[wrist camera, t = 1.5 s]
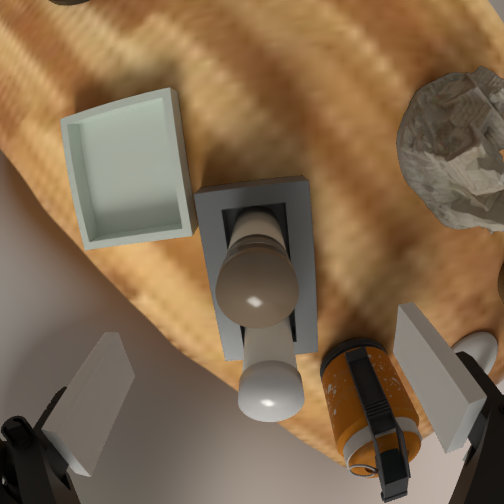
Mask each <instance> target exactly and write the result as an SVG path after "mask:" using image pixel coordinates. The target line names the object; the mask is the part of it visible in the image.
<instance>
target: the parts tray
mask: <svg viewBox="0 0 504 504" xmlns="http://www.w3.org/2000/svg"><path fill="white" fill-rule="evenodd" d="M60 122H61V131H62V139H63V146H64V153H65V159H66V165H67V171H68V177H69V182H70V187H71V193H72V197H73V202H74V207H75V211H76V216H77V220H78V224H79V229H80V233H81V237H82V240H83V244H84V248H85V250H90V249H97V248H104V247H111V246H119V245H126V244H133V243H141V242H148V241H156V240H163V239H171V238H179V237H187V236H193V234H194V233H195V231H196V229H197V228H198V225H197V219H196V213H195V207H194V201H193V195H192V189H191V183H190V176H189V170H188V163H187V156H186V150H185V143H184V135H183V128H182V121H181V113H180V106H179V98H178V92H177V91H176V90H174V89H172V88H170V87H169V88H164V89H160V90H155V91H151V92H147V93H143V94H139V95H135V96H132V97H128V98H124V99H121V100H117V101H114V102H110V103H107V104H104V105H101V106H97V107H94V108H91V109H88V110H85V111H82V112H79V113H76V114H73V115H71V116H68V117H65V118H62V119H60Z"/></svg>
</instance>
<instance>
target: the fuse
mask: <svg viewBox="0 0 504 504" xmlns="http://www.w3.org/2000/svg"><path fill="white" fill-rule="evenodd" d="M304 399H305V398H304V391H303V385H302V379H301V375H300V373H299V372H298V370H297V364H296V357H295V351H294V345H293V339H292V333H291V326H290V320H289V316H288V317H287V318H286V319H284V320H283V321H282V322H280V323H278V324H276V325H273V326H270V327H267V328H257V329H256V328H248V327H245V339H244V356H243V373H242V375H241V377H240V381H239V396H238V404H239V407H240V409H241V410H242V412H243V413H245V414H246V415H247V416H249V417H250V418H252V419H255V420H259V421H264V422H276V421H281V420H285V419H287V418H290V417H292V416H293V415H295V414H296V413H297V412H299V410H300V409H301V408H302V406H303V404H304Z"/></svg>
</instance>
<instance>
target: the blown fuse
mask: <svg viewBox="0 0 504 504" xmlns="http://www.w3.org/2000/svg"><path fill="white" fill-rule="evenodd" d="M215 294H216V300H217V303H218V305H219V307H220V309H221V311H222V312H223V313H224V315H225V316H226V317H228V318H229V319H230V320H231V321H233V322H234V323H236V324H238V325H241V326H244V327H248V328H256V329H257V328H267V327H270V326H273V325H276V324H278V323H280V322H282V321H283V320H284V319H286V318H287V317H288V316H289V315H290V314H291V312H292V311H293V310H294V308H295V306H296V304H297V301H298V297H299V286H298V281H297V278H296V274H295V270H294V267H293V264H292V262H291V261H290V259H289V257H288V254H287V251H286V248H285V244H284V240H283V236H282V232H281V228H280V224H279V221H278V218H277V216H276V215H275V214H274V212H273V211H271V210H270V209H268V208H266V207H264V206H258V205H257V206H250V207H248V208H246V209H244V210H243V211H241V212H240V214H239V215H238V216H237V218H236V221H235V224H234V228H233V232H232V236H231V240H230V244H229V248H228V252H227V254H226V257H225V260H224V261H223V263H222V265H221V268H220V271H219V275H218V279H217V283H216V288H215Z"/></svg>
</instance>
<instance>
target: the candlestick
mask: <svg viewBox="0 0 504 504" xmlns="http://www.w3.org/2000/svg"><path fill="white" fill-rule="evenodd" d="M451 349H452V350H453V352H454V353H458V352H461V351H464V352H466V353H467V354H469V355H471V356H472V357H473V358H474V359H475V360H476V361H477V363H478V364H479V366H481V368H482V369H483V370H484V373H486V374H487V375H488V373H489V372H490V370H491V369H492V367H493V365H494V362H495V360H496V356H497V352H498V344H497V341H496V339H495V337H494V336H493V335H492V334H490V333H488V332H476V333H473V334H471V335H469V336H467V337H465V338H463V339H462V340H460V341H459V342H457V343H456V344H455V345H454V346H453V347H452V348H451Z"/></svg>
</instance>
